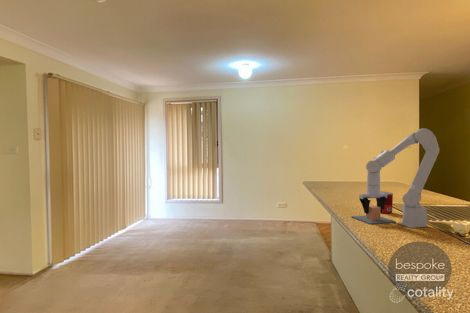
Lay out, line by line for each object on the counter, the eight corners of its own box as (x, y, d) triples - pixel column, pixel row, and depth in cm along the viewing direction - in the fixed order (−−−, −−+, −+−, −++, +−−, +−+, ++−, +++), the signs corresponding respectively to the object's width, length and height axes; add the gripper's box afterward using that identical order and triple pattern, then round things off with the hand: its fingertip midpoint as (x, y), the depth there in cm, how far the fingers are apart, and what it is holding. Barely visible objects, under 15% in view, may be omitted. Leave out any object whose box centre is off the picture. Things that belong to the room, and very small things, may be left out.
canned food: (393, 211, 164) (393, 192, 164) (391, 214, 158) (392, 194, 157) (377, 210, 168) (378, 190, 168) (375, 212, 162) (376, 192, 161)
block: (373, 217, 149) (374, 205, 148) (380, 219, 144) (380, 207, 144) (366, 218, 147) (366, 205, 147) (372, 220, 143) (372, 207, 143)
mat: (375, 215, 154) (375, 214, 154) (395, 222, 141) (395, 221, 141) (351, 217, 151) (351, 216, 151) (370, 224, 137) (370, 223, 137)
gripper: (380, 183, 151) (379, 210, 152) (355, 184, 147) (354, 211, 148) (390, 185, 144) (390, 213, 145) (364, 186, 141) (364, 215, 141)
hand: (373, 212), depth 146 cm, fingers open, 7 cm apart
